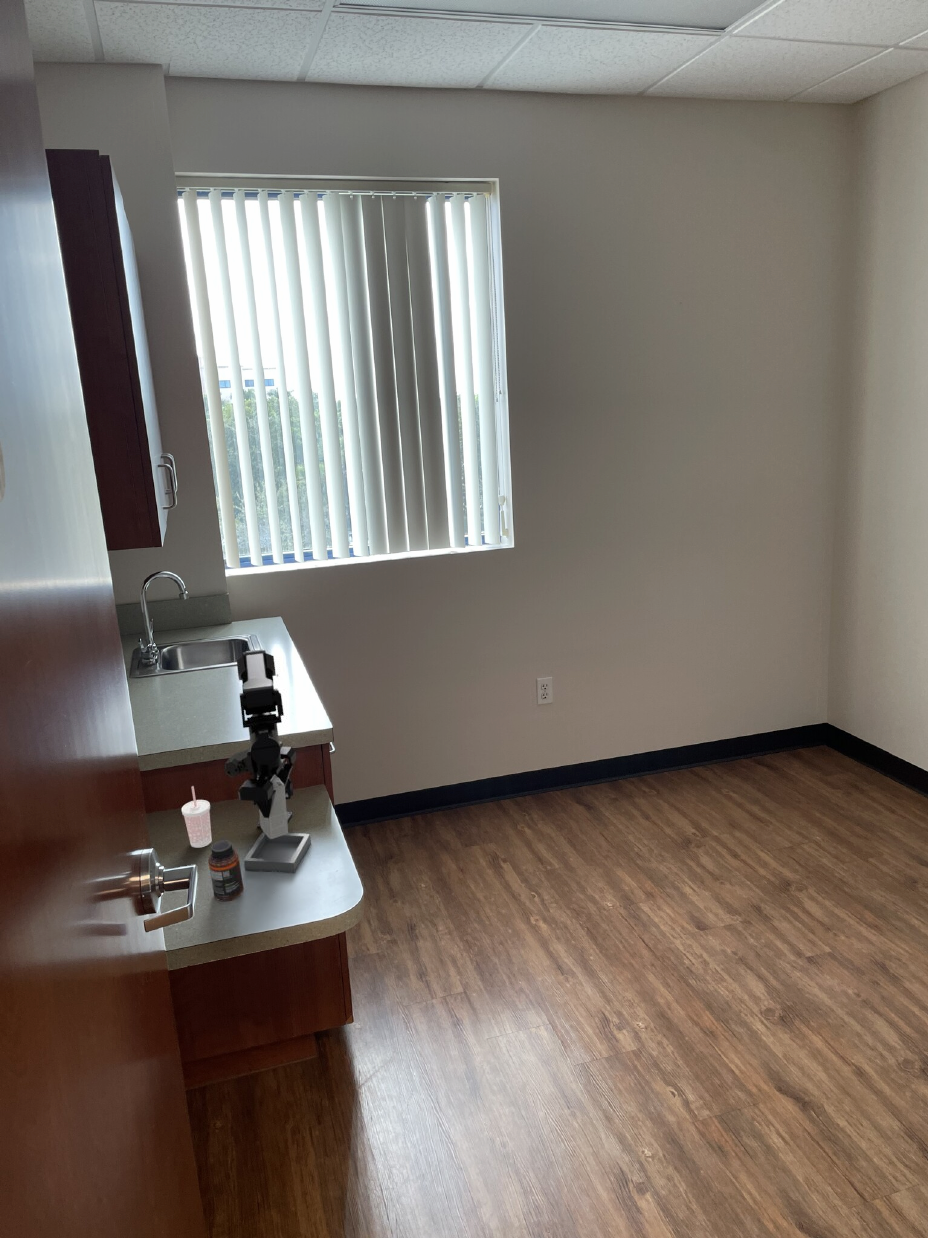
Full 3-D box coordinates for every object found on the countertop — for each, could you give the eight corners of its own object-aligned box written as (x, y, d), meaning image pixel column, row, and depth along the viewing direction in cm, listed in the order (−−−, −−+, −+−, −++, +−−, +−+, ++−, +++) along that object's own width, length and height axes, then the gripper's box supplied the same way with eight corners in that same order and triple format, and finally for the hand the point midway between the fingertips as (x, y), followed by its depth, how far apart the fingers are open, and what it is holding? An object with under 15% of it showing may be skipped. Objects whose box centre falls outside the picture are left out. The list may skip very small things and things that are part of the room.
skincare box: (260, 828, 184) (253, 778, 180) (279, 821, 186) (273, 772, 183) (270, 840, 179) (264, 790, 175) (290, 833, 182) (284, 783, 178)
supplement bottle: (232, 880, 177) (225, 833, 174) (249, 891, 174) (243, 843, 170) (207, 895, 173) (200, 847, 169) (225, 906, 169) (218, 857, 166)
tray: (263, 841, 191) (262, 831, 190) (311, 843, 189) (310, 834, 188) (245, 870, 180) (243, 860, 180) (295, 873, 179) (293, 863, 178)
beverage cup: (210, 831, 196) (202, 777, 191) (218, 843, 191) (210, 788, 186) (183, 840, 192) (174, 785, 188) (191, 852, 188) (182, 796, 183)
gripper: (244, 721, 186) (253, 784, 191) (209, 762, 168) (219, 830, 173) (293, 723, 184) (300, 786, 189) (262, 764, 167) (271, 833, 172)
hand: (272, 808), depth 181 cm, fingers closed on skincare box, 7 cm apart
